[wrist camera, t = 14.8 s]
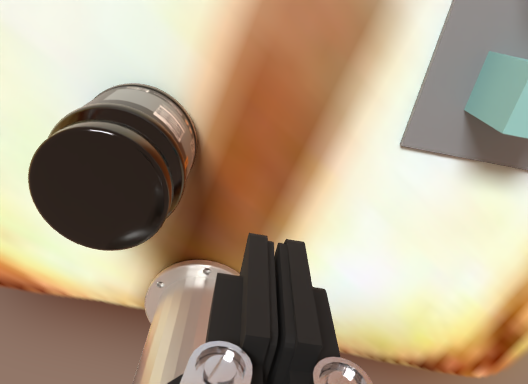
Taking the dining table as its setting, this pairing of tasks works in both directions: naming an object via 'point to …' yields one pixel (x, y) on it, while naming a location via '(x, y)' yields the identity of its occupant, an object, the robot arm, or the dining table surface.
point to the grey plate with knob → (468, 83)
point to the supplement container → (114, 167)
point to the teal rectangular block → (502, 94)
